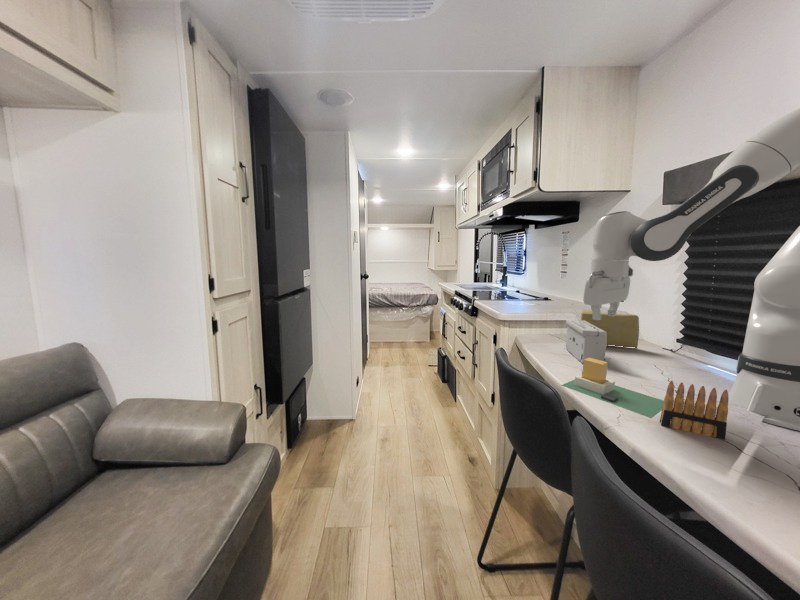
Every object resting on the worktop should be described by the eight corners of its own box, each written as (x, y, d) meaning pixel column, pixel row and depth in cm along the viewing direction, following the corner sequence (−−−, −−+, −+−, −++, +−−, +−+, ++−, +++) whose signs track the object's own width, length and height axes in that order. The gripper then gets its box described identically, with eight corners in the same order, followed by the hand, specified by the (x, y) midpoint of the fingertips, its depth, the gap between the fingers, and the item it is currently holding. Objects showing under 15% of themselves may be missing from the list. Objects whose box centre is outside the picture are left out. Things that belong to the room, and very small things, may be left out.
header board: (670, 407, 82) (672, 394, 81) (650, 422, 74) (652, 408, 73) (584, 379, 100) (585, 368, 99) (560, 388, 92) (561, 377, 92)
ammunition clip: (660, 430, 71) (667, 381, 69) (658, 426, 72) (665, 378, 71) (724, 445, 65) (734, 392, 64) (721, 441, 67) (730, 389, 65)
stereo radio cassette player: (605, 367, 111) (611, 313, 108) (580, 365, 113) (585, 311, 110) (583, 349, 132) (587, 303, 129) (562, 348, 133) (566, 303, 130)
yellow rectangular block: (604, 388, 90) (607, 362, 89) (599, 391, 88) (602, 364, 87) (584, 381, 95) (587, 356, 94) (579, 384, 93) (581, 358, 92)
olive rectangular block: (635, 346, 138) (639, 313, 135) (638, 352, 129) (643, 317, 127) (578, 339, 149) (581, 308, 146) (578, 344, 140) (581, 311, 138)
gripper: (604, 272, 79) (599, 324, 81) (635, 270, 91) (631, 316, 93) (579, 271, 85) (575, 320, 87) (611, 269, 96) (607, 312, 98)
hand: (604, 318), depth 90 cm, fingers open, 8 cm apart
